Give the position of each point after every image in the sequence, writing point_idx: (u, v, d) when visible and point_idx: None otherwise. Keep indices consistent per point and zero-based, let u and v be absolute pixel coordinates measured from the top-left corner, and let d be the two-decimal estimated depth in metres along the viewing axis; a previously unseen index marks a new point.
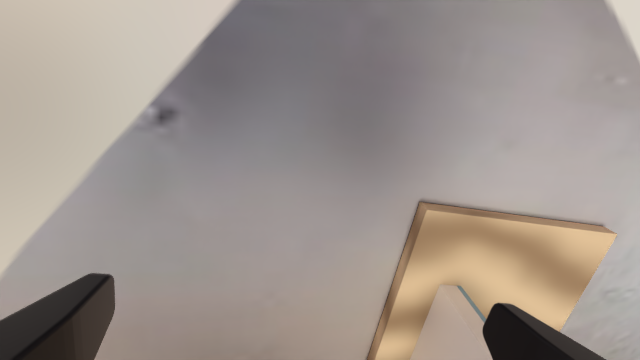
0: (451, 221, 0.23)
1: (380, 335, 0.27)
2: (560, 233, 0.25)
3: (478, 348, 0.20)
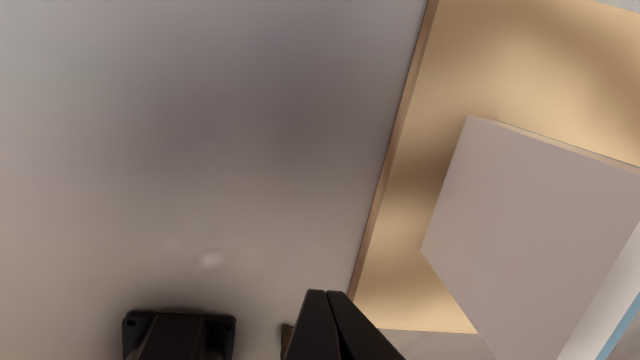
0: None
1: (377, 208, 0.18)
2: None
3: (547, 153, 0.11)
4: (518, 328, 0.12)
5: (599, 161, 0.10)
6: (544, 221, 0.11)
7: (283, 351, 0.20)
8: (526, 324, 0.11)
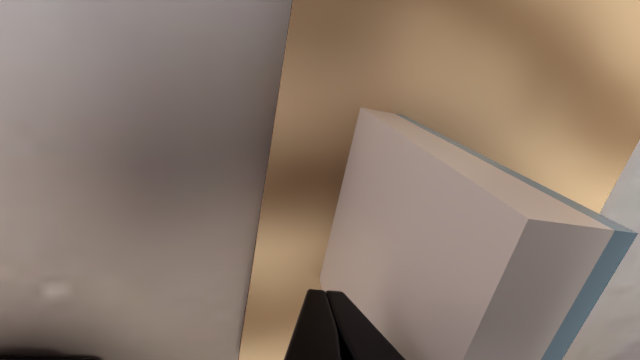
0: None
1: (258, 226, 0.14)
2: None
3: (413, 160, 0.08)
4: None
5: (460, 173, 0.06)
6: (405, 262, 0.07)
7: None
8: None
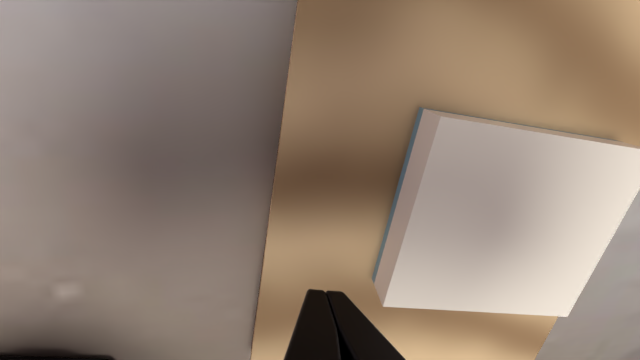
0: None
1: (268, 223, 0.14)
2: None
3: (576, 148, 0.12)
4: (554, 284, 0.14)
5: (620, 146, 0.12)
6: (575, 203, 0.13)
7: None
8: (562, 277, 0.14)
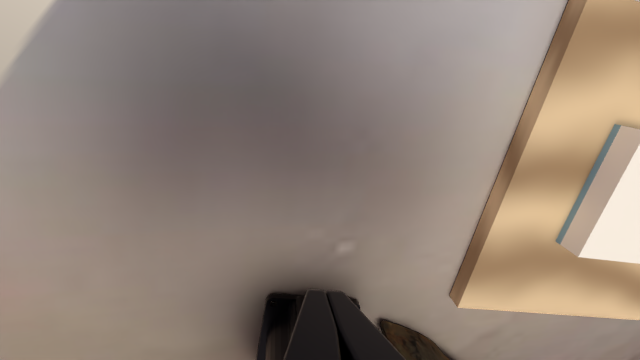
0: (619, 12, 0.17)
1: (497, 200, 0.21)
2: None
3: None
4: None
5: None
6: None
7: None
8: None
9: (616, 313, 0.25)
